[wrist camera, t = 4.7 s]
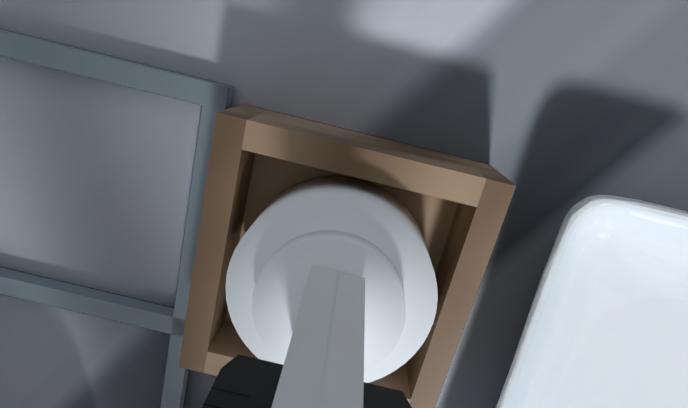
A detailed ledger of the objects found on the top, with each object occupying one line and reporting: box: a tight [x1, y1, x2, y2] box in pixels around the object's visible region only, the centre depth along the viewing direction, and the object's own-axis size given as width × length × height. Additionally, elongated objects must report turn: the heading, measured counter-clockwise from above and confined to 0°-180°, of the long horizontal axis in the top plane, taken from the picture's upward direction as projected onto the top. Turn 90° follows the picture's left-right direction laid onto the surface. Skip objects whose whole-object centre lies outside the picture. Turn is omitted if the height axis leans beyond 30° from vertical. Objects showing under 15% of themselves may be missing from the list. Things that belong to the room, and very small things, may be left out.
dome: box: [225, 177, 438, 383], centre depth 14 cm, size 6×6×3 cm
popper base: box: [179, 104, 516, 408], centre depth 16 cm, size 9×9×3 cm
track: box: [0, 29, 234, 408], centre depth 18 cm, size 10×19×1 cm, turn 167°
